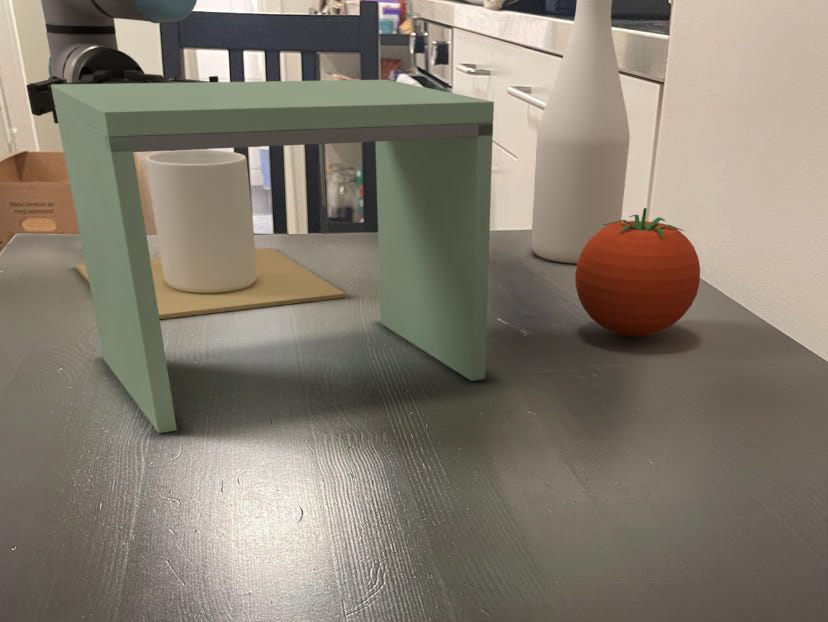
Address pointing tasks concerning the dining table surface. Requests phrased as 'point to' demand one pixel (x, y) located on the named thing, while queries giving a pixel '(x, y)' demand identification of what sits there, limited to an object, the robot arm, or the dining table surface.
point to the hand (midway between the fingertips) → (156, 106)
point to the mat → (271, 288)
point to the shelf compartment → (279, 126)
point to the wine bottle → (581, 141)
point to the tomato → (637, 276)
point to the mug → (203, 219)
